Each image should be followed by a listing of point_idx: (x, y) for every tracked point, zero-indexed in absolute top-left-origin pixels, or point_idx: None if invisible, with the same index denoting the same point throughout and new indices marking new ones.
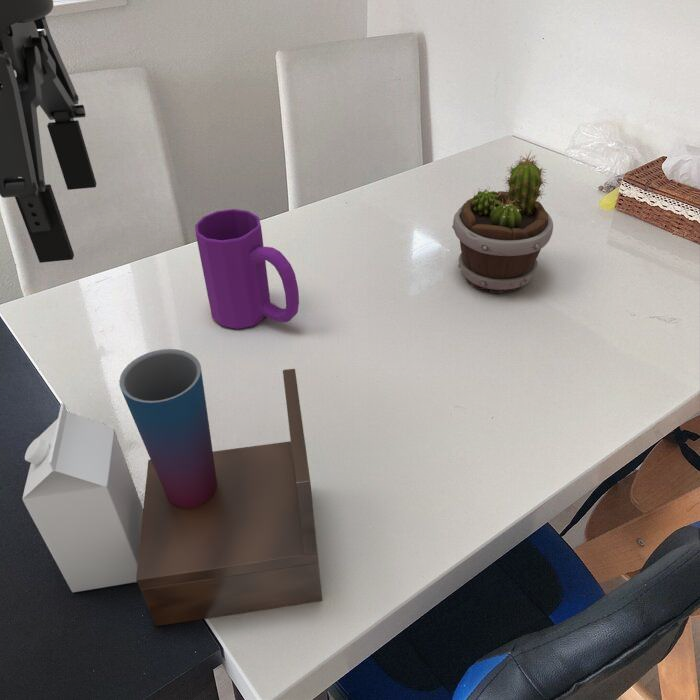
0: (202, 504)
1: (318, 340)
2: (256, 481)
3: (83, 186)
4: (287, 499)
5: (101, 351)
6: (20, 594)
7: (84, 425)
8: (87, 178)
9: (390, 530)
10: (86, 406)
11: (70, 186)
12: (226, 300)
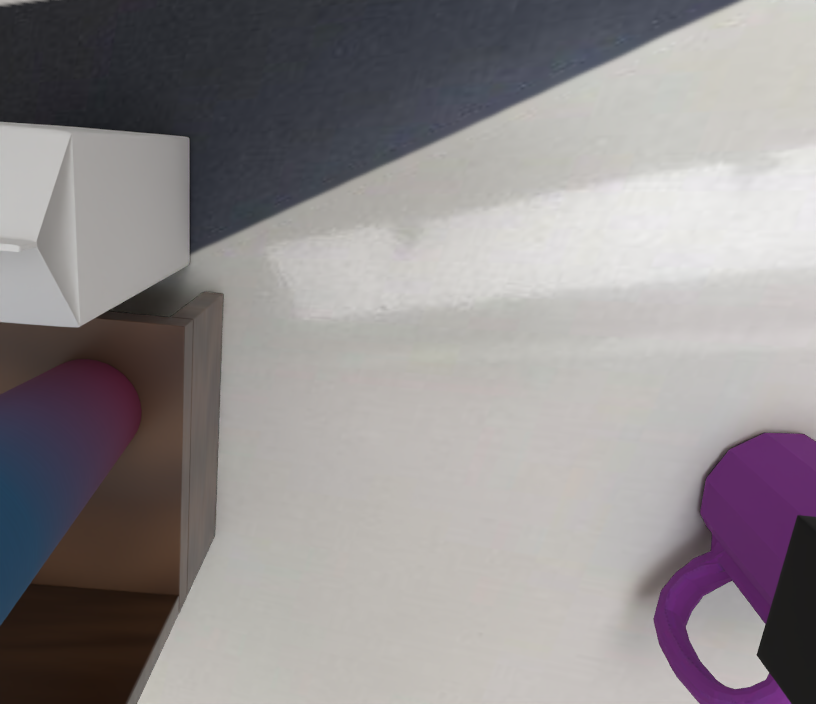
0: None
1: (602, 624)
2: (86, 522)
3: (781, 605)
4: None
5: (756, 163)
6: (74, 25)
7: (24, 279)
8: (795, 671)
9: None
10: (562, 132)
11: (804, 544)
12: (749, 506)
